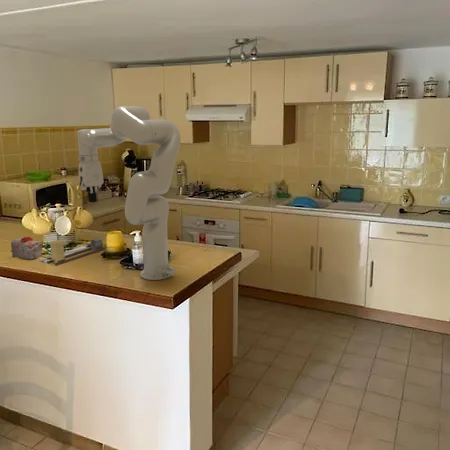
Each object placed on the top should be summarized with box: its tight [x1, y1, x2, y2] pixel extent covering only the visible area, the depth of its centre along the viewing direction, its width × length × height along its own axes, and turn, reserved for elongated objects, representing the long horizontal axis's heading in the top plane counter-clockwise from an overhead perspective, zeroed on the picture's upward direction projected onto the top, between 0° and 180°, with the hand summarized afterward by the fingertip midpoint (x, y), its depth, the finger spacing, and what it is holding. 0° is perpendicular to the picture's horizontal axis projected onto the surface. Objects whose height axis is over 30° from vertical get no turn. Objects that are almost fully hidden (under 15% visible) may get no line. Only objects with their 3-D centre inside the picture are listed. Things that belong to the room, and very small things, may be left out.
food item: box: [10, 236, 43, 261], centre depth 201 cm, size 14×8×10 cm, turn 64°
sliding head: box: [46, 239, 66, 264], centre depth 194 cm, size 9×4×9 cm, turn 57°
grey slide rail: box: [39, 237, 107, 267], centre depth 203 cm, size 12×30×6 cm, turn 147°
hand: (92, 201), depth 199 cm, fingers closed
